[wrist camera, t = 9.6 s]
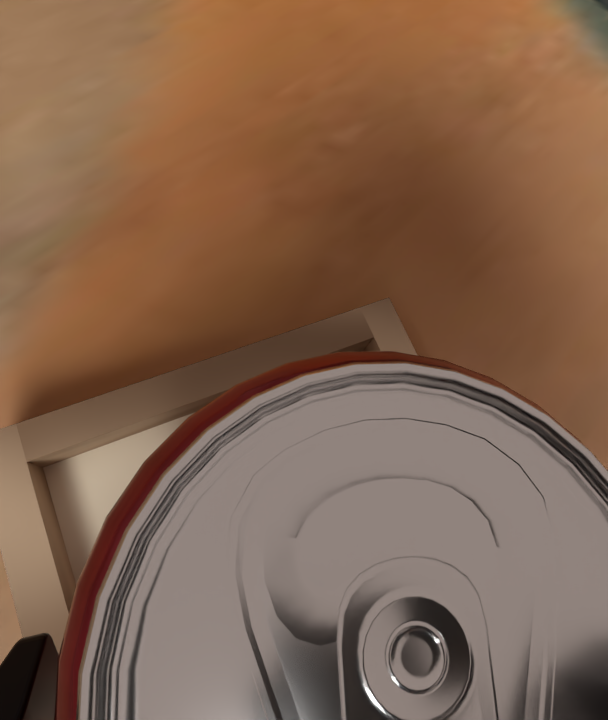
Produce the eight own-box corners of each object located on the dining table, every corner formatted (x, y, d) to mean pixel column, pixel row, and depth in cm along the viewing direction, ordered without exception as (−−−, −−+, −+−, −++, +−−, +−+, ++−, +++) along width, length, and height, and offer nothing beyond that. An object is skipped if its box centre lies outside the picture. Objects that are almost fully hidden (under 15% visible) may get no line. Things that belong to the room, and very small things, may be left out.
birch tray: (538, 679, 18) (588, 701, 15) (134, 931, 14) (117, 1012, 12) (369, 323, 21) (389, 297, 18) (5, 451, 17) (-28, 438, 15)
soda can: (176, 455, 17) (97, 307, 6) (386, 464, 18) (664, 354, 7) (150, 710, 15) (-66, 1292, 3) (393, 703, 16) (836, 1134, 4)
